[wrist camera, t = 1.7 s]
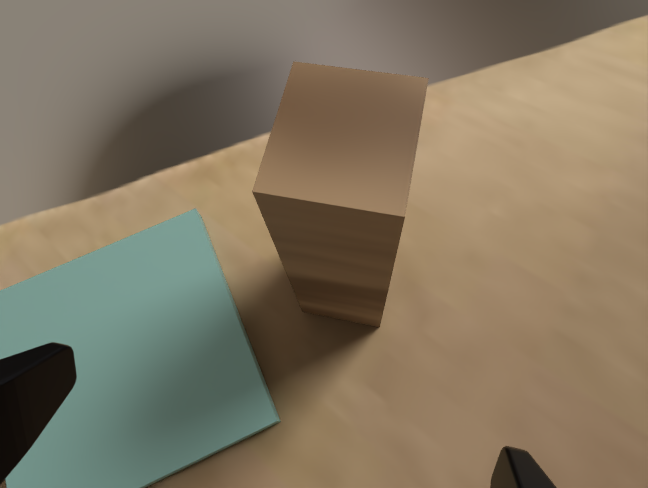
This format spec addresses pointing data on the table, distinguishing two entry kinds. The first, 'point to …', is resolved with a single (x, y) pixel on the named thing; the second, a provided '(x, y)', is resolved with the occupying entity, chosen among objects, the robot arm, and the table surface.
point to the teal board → (138, 361)
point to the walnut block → (340, 184)
